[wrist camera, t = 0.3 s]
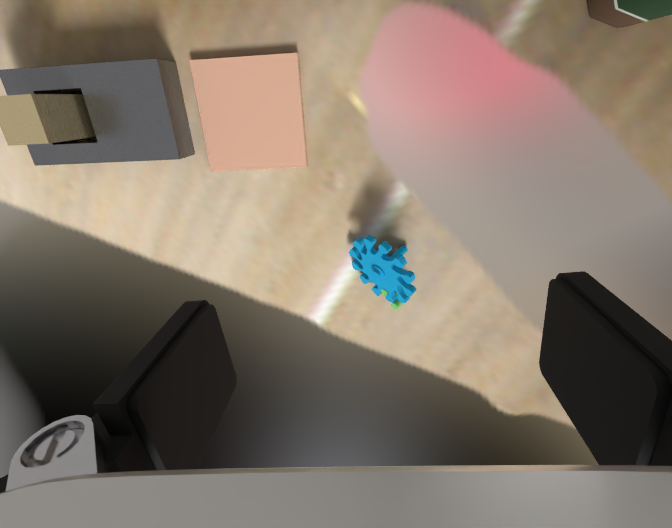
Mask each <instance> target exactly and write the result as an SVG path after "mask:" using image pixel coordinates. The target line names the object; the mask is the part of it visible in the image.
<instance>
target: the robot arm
mask: <svg viewBox="0 0 672 528" xmlns="http://www.w3.org/2000/svg"><path fill="white" fill-rule="evenodd" d="M539 364H540V370H541V373H542V375H543V376H544V378H545V380H546V381H547V383H548V384H549V386H550V388H551V389H552V391H553V392H554V394H555V396H556V397H557V399H558V400H559V402H560V403H561V405H562V407H563V408H564V410H565V411H566V413H567V415H568V416H569V418H570V419H571V421H572V423H573V424H574V426H575V427H576V429H577V430H578V432H579V434H580V435H581V437H582V438H583V440H584V442H585V443H586V445H587V446H588V448H589V450H590V451H591V453H592V454H593V456H594V457H595V459H596V461H597V462H598V464H599V465H506V466H505V465H499V466H498V465H496V466H495V465H494V466H380V467H307V468H306V467H303V468H302V467H300V468H243V469H198V467H199V465H200V463H201V461H202V459H203V457H204V454H205V452H206V450H207V448H208V446H209V443H210V441H211V439H212V437H213V435H214V432H215V431H216V428H217V426H218V424H219V422H220V420H221V418H222V415H223V413H224V411H225V409H226V407H227V404H228V402H229V400H230V398H231V396H232V393H233V391H234V389H235V387H236V373H235V370H234V367H233V364H232V361H231V357H230V354H229V351H228V348H227V344H226V341H225V338H224V335H223V332H222V328H221V325H220V322H219V319H218V316H217V312H216V309H215V307H214V306H213V305H209V303H208V302H207V301H206V300H201V301H188V302H185V303H184V304H183V305H182V306H181V307H180V308H179V309H178V310H177V311H176V312H175V314H174V315H173V316H172V317H171V318H170V319H169V320H168V321H167V323H166V324H165V325H164V326H163V327H162V328H161V329H160V330H159V332H157V334H156V335H155V336H154V337H153V338H152V339H151V340H150V341H149V342H148V344H147V345H146V346H145V347H144V348H143V349H142V350H141V351H140V353H139V354H138V355H137V356H136V357H135V358H134V359H133V360H132V361H131V362H130V364H129V365H128V366H127V367H126V368H125V369H124V370H123V371H122V372H121V374H120V375H119V376H118V377H117V378H116V379H115V380H114V381H113V382H112V384H111V385H110V386H109V387H108V388H107V389H106V390H105V391H104V392H103V394H102V395H101V396H100V397H99V398H98V399H97V400H96V401H95V402H94V404H93V406H94V408H95V409H96V411H97V413H96V415H95V416H94V417H93V418H92V419H91V418H88V417H87V416H85V415H75V416H70V417H66V418H63V419H60V420H58V421H55V422H53V423H51V424H50V425H48V426H46V427H44V428H42V429H41V430H40V431H38V432H37V433H35V434H34V435H32V436H31V437H30V438H29V439H28V440H27V441H26V442H24V443H23V444H22V445H21V447H20V448H19V449H18V451H17V452H16V453H15V454H14V457H13V459H12V461H11V465H10V470H9V474H8V475H6V476H4V477H2V478H0V528H672V341H671V340H670V339H669V338H668V337H666V336H665V335H664V334H662V333H661V332H660V331H659V330H658V329H656V328H655V327H654V326H653V325H651V324H650V323H649V322H648V321H646V320H645V319H644V318H643V317H641V316H640V315H639V314H638V313H636V312H635V311H634V310H633V309H631V308H630V307H629V306H628V305H626V304H625V303H624V302H623V301H621V300H620V299H619V298H618V297H616V296H615V295H614V294H613V293H611V292H610V291H609V290H608V289H606V288H605V287H604V286H603V285H601V284H600V283H599V282H598V281H596V280H595V279H594V278H593V277H591V276H590V275H589V274H588V273H586V272H571V273H559V274H558V275H557V277H556V279H552V280H551V281H550V283H549V288H548V297H547V304H546V312H545V320H544V328H543V336H542V344H541V352H540V360H539Z"/></svg>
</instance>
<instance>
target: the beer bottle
mask: <svg viewBox="0 0 672 528" xmlns="http://www.w3.org/2000/svg"><path fill="white" fill-rule="evenodd" d="M587 3H588V8H589V13H590V17H591V18H594V19H596V20H598V21H601V22H603V23H606V24H608V25H611V26H613V27H616V28H620V27H626V26H630V25H634V24H638V23H641V22H645V21H649V20H652V19H656V18H660V17H663V16H667V15H671V14H672V0H587Z"/></svg>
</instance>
